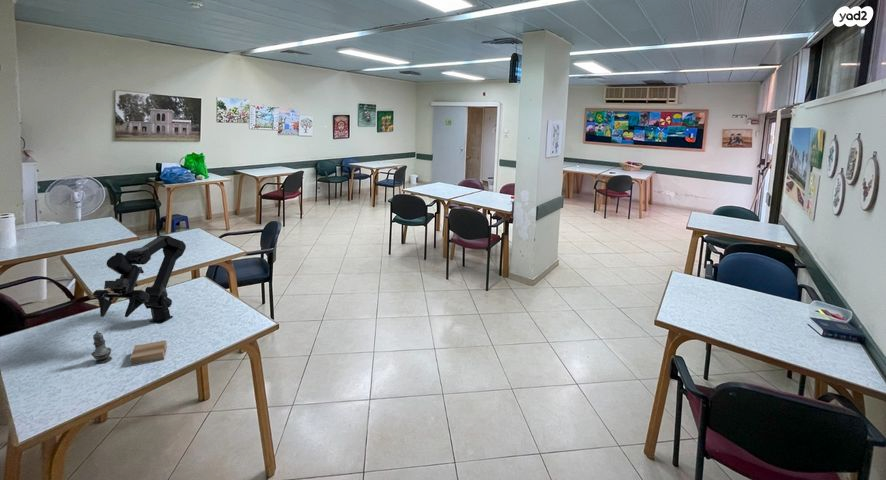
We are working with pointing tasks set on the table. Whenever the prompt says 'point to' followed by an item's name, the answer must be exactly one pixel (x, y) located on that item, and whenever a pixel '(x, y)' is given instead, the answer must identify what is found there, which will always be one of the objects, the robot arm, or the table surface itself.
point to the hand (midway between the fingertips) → (113, 316)
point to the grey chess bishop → (101, 349)
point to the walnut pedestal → (148, 352)
